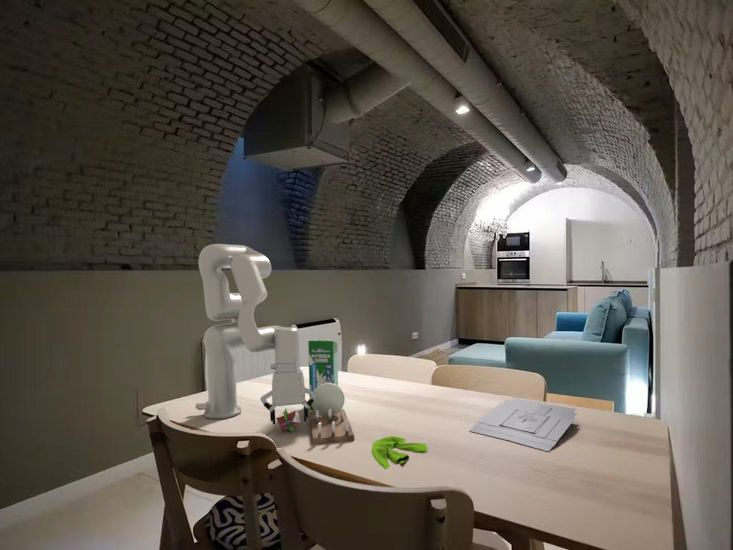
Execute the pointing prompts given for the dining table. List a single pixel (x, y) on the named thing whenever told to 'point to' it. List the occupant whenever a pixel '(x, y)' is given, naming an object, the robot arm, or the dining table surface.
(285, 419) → the geometric puzzle
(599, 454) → the dining table surface
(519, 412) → the papers
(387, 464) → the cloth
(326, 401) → the sage plate
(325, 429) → the dish rack
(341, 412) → the rack tines
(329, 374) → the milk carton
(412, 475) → the dining table surface
